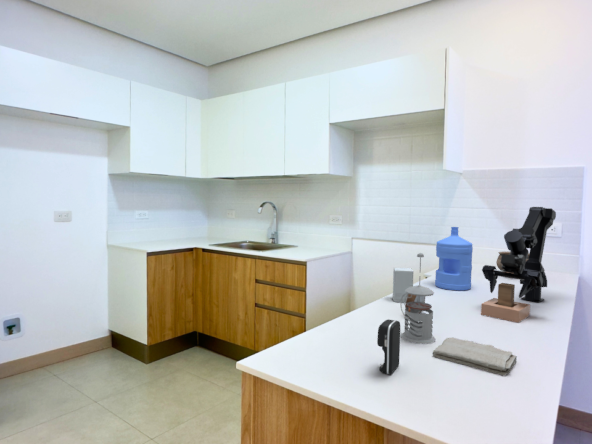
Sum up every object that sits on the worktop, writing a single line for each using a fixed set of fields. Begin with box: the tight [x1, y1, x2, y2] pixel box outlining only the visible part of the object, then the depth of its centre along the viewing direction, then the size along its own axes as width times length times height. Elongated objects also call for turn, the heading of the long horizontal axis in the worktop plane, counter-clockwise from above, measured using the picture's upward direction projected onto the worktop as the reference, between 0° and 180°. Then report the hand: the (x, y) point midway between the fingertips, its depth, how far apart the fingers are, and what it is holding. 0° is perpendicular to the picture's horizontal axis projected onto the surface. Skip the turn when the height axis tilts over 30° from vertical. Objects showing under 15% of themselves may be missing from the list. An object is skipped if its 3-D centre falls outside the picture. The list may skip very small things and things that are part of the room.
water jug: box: [434, 226, 474, 291], centre depth 178 cm, size 16×16×28 cm
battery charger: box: [376, 319, 401, 375], centre depth 91 cm, size 7×4×11 cm, turn 149°
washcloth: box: [432, 337, 518, 377], centre depth 98 cm, size 12×18×3 cm, turn 52°
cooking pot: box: [496, 251, 530, 271], centre depth 206 cm, size 25×19×12 cm
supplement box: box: [392, 267, 414, 304], centre depth 154 cm, size 7×7×13 cm
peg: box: [497, 282, 516, 307], centre depth 135 cm, size 4×4×11 cm
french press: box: [400, 252, 436, 345], centre depth 113 cm, size 10×12×25 cm
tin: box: [405, 294, 426, 314], centre depth 137 cm, size 15×3×8 cm, turn 145°
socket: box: [480, 297, 531, 324], centre depth 136 cm, size 12×12×4 cm
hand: (505, 294), depth 134 cm, fingers open, 9 cm apart
